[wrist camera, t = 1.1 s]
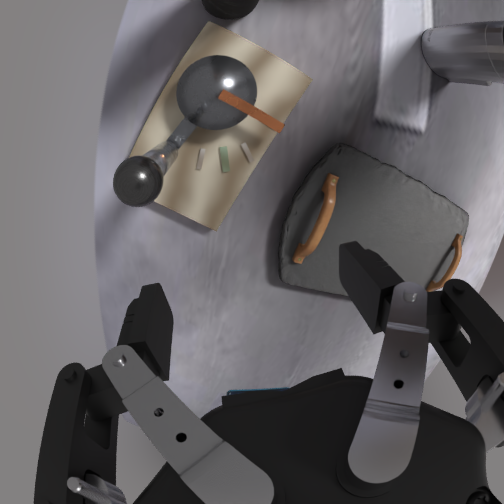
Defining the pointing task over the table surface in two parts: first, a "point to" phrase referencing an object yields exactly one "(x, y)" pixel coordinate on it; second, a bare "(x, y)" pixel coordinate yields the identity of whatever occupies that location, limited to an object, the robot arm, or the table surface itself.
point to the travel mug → (229, 8)
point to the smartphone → (255, 390)
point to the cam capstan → (193, 122)
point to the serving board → (368, 223)
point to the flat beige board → (219, 141)
